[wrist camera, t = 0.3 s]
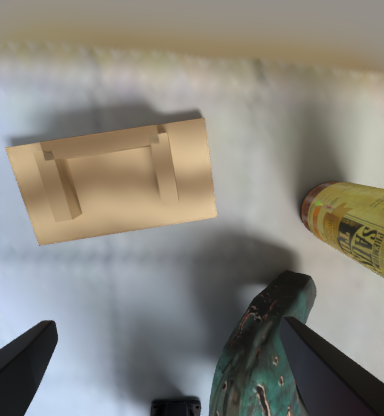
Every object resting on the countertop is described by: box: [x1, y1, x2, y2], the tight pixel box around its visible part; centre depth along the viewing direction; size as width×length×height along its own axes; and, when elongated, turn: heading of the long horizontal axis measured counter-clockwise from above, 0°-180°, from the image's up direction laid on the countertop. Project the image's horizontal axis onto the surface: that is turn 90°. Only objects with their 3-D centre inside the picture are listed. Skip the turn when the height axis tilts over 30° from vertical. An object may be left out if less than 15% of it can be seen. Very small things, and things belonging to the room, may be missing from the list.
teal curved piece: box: [209, 270, 316, 416], centre depth 20 cm, size 20×6×20 cm
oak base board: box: [5, 118, 217, 246], centre depth 20 cm, size 10×18×3 cm, turn 99°
